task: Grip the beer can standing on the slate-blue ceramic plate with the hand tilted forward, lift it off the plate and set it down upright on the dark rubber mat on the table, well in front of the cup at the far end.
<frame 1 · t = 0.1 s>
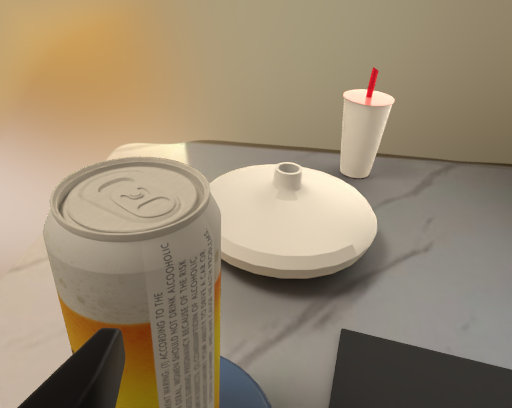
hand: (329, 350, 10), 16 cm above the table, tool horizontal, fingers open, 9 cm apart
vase: (281, 240, 40), on the table
cup: (354, 173, 52), on the table
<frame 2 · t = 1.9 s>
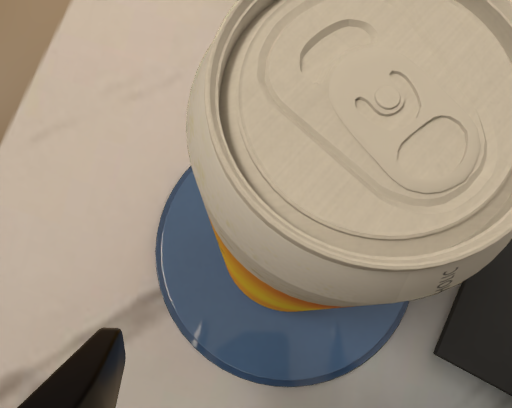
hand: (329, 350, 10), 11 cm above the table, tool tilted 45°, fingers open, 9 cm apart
plate: (286, 247, 21), on the table
beer can: (286, 246, 21), resting on plate
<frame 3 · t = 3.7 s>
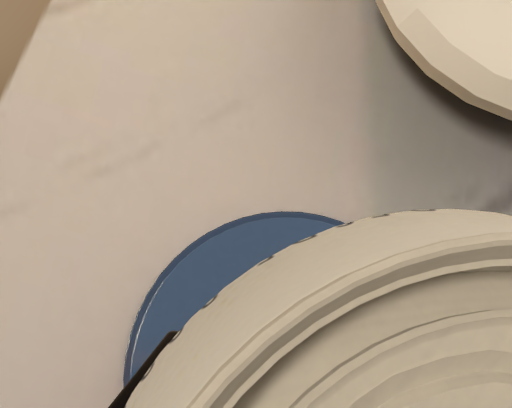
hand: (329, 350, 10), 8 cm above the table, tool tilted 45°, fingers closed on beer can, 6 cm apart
plate: (289, 371, 17), on the table
beer can: (289, 372, 17), resting on plate, touching gripper
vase: (509, 2, 22), on the table
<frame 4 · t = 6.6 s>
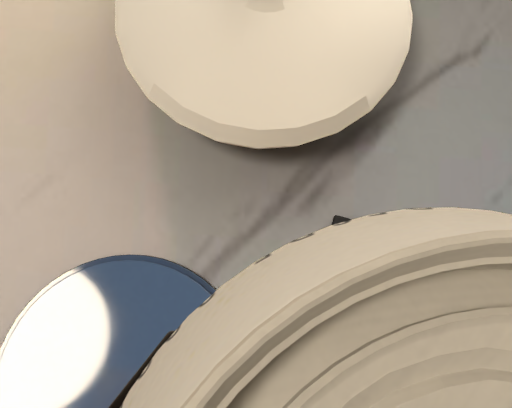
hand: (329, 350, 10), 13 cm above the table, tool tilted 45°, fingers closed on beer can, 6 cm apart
plate: (123, 383, 22), on the table
beer can: (289, 372, 17), point 6 cm above the table, touching gripper
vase: (262, 42, 26), on the table
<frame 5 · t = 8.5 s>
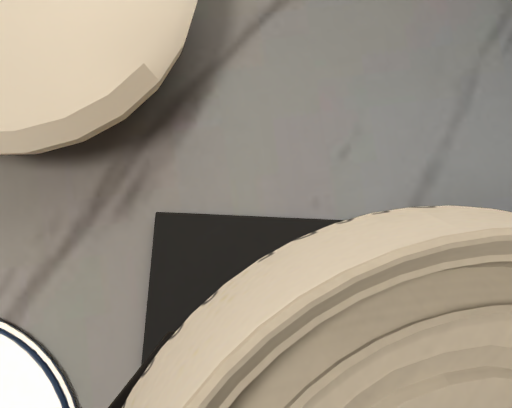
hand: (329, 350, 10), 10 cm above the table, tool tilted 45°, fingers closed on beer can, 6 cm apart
beer can: (289, 371, 17), point 2 cm above the table, touching gripper
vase: (47, 27, 22), on the table
mat: (286, 358, 19), on the table
when the fingers open (8 cm above the table, at t = 9.6 s): beer can stays where it is, resting on mat.
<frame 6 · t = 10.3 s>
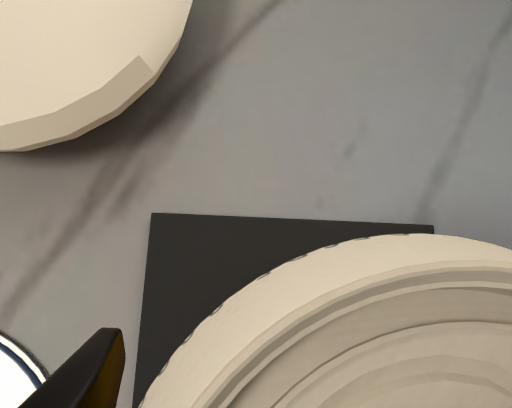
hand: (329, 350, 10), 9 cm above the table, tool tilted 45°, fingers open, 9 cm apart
beer can: (287, 372, 17), resting on mat
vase: (40, 21, 21), on the table
mat: (289, 367, 18), on the table
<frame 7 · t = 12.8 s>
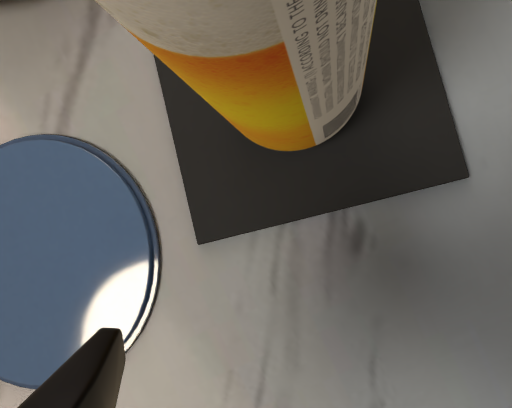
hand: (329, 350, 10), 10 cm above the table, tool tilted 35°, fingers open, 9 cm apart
plate: (41, 260, 22), on the table
beer can: (292, 87, 20), resting on mat
mat: (293, 84, 20), on the table
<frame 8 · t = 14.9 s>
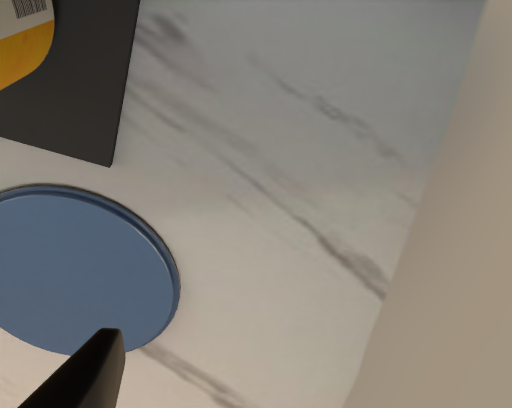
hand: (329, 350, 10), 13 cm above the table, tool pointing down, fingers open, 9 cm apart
plate: (71, 280, 26), on the table
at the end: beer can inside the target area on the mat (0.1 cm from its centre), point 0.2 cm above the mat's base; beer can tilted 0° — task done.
